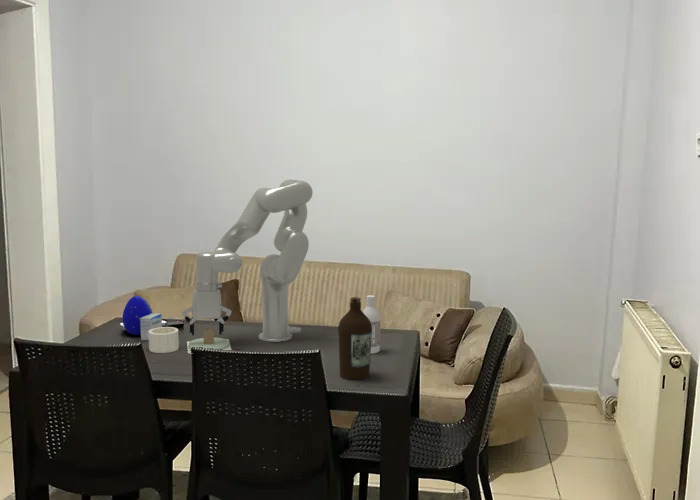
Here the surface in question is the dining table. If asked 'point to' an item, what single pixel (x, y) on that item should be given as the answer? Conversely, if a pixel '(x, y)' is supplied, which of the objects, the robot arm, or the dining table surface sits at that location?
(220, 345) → the lid
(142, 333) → the medicine box
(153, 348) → the bowl
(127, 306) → the ornament
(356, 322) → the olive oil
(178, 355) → the dining table surface
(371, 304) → the bath foam
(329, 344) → the dining table surface
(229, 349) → the mat
